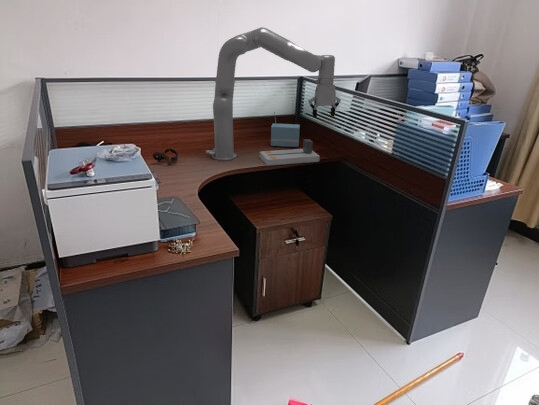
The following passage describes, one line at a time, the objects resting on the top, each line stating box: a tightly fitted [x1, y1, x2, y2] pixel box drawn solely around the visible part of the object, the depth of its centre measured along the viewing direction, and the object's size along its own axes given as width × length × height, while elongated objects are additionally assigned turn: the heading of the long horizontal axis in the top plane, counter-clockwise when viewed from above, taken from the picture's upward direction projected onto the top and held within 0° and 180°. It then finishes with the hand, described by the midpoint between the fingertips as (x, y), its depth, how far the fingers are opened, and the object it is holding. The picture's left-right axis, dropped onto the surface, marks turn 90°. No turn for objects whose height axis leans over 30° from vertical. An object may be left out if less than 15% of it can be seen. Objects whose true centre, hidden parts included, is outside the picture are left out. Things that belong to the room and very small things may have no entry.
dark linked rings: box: [152, 147, 179, 166], centre depth 192 cm, size 12×10×8 cm
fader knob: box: [302, 138, 314, 153], centre depth 202 cm, size 3×5×6 cm, turn 16°
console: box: [259, 148, 320, 166], centre depth 202 cm, size 28×14×3 cm, turn 106°
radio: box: [270, 111, 301, 149], centre depth 222 cm, size 16×9×20 cm, turn 84°
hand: (323, 116), depth 199 cm, fingers open, 9 cm apart
